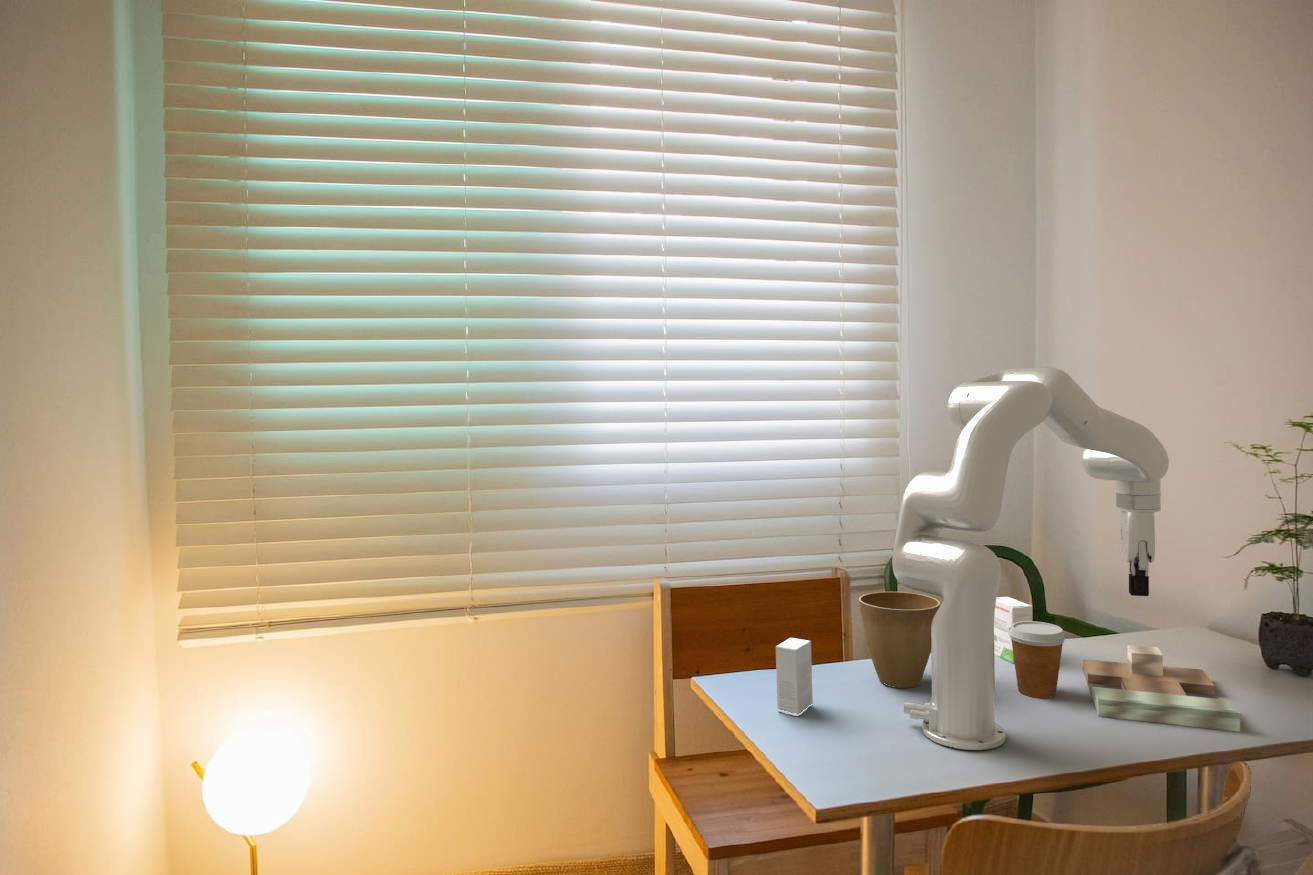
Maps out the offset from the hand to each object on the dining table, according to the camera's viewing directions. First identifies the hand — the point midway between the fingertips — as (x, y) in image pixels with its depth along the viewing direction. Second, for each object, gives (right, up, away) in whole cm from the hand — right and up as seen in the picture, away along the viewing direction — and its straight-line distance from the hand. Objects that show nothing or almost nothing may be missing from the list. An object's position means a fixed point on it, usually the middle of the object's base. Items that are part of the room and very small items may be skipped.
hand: (1138, 594), depth 160 cm
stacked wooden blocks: (-6, -16, -15) cm, 22 cm away
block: (-3, -13, -7) cm, 15 cm away
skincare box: (-70, -18, -16) cm, 74 cm away
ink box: (-21, -15, +9) cm, 28 cm away
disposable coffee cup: (-25, -16, -11) cm, 32 cm away
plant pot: (-48, -16, -3) cm, 51 cm away
